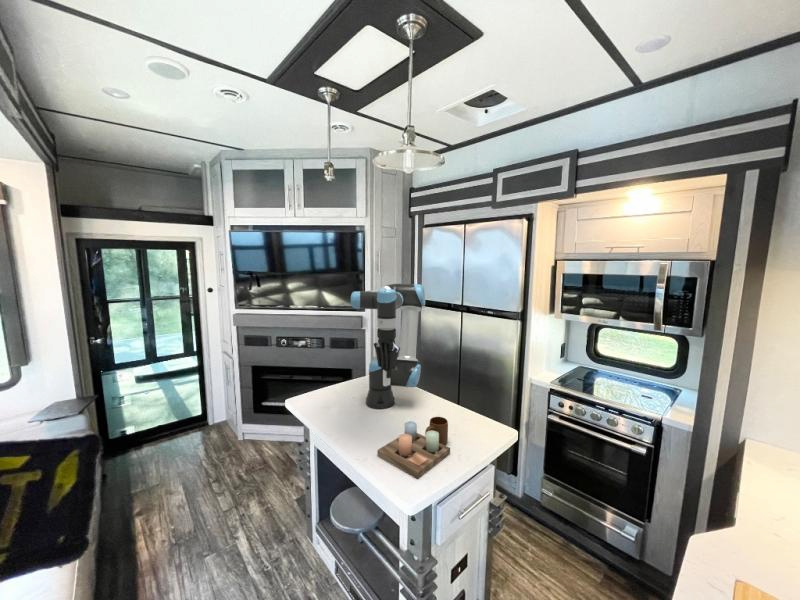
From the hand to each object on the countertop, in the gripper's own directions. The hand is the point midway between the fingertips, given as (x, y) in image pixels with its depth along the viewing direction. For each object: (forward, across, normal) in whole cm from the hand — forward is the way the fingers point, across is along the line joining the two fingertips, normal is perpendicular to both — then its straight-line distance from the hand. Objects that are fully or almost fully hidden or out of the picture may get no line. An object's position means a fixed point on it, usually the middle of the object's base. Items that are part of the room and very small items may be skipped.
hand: (386, 384), depth 134 cm
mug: (+25, +16, +12) cm, 32 cm away
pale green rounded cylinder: (+22, +19, +6) cm, 30 cm away
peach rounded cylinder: (+22, +13, -4) cm, 26 cm away
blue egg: (+22, +8, +6) cm, 24 cm away
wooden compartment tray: (+25, +14, 0) cm, 28 cm away
